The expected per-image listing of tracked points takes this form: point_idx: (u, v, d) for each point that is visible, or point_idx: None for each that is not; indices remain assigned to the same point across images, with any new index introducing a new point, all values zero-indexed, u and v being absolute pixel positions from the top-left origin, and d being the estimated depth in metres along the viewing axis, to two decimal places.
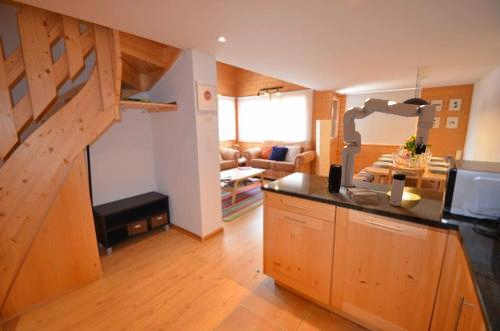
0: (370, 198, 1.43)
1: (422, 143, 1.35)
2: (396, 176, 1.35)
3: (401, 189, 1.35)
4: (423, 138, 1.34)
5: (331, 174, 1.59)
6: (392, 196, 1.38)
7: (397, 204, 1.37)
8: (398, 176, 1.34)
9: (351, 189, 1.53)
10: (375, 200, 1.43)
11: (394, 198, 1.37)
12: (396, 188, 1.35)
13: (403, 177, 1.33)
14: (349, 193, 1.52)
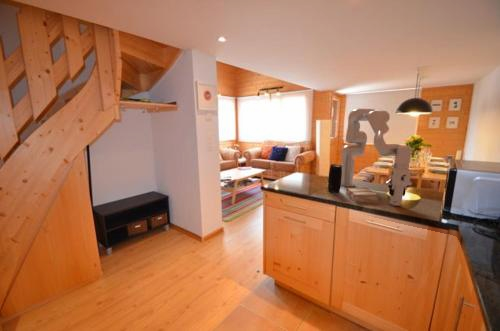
0: (370, 198, 1.43)
1: None
2: None
3: (401, 189, 1.35)
4: None
5: (331, 174, 1.59)
6: (392, 196, 1.38)
7: (397, 204, 1.37)
8: None
9: (351, 189, 1.53)
10: (375, 200, 1.43)
11: (394, 198, 1.37)
12: (396, 188, 1.35)
13: (403, 177, 1.33)
14: (349, 193, 1.52)
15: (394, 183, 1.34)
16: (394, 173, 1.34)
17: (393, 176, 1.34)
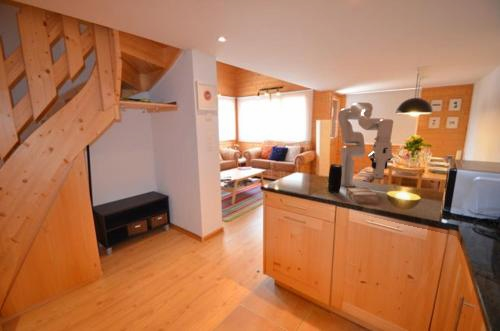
0: (370, 198, 1.43)
1: None
2: None
3: (383, 162, 1.38)
4: None
5: (331, 174, 1.59)
6: (374, 169, 1.41)
7: (379, 177, 1.40)
8: None
9: (351, 189, 1.53)
10: (375, 200, 1.43)
11: (376, 171, 1.40)
12: (378, 161, 1.38)
13: (385, 150, 1.36)
14: (349, 193, 1.52)
15: (376, 156, 1.37)
16: (376, 146, 1.36)
17: (375, 149, 1.37)
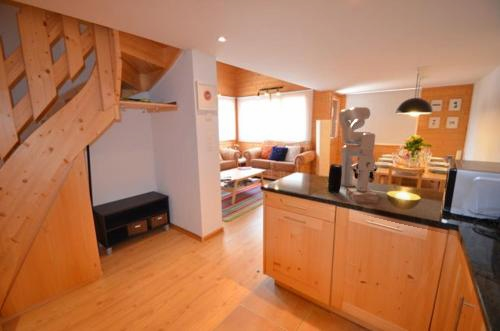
0: (370, 198, 1.43)
1: None
2: None
3: (366, 176, 1.44)
4: None
5: (331, 174, 1.59)
6: (358, 183, 1.48)
7: (363, 190, 1.46)
8: None
9: (351, 189, 1.53)
10: (375, 200, 1.43)
11: (360, 184, 1.46)
12: (362, 175, 1.45)
13: None
14: (349, 193, 1.52)
15: (360, 168, 1.43)
16: (359, 159, 1.43)
17: (359, 161, 1.43)
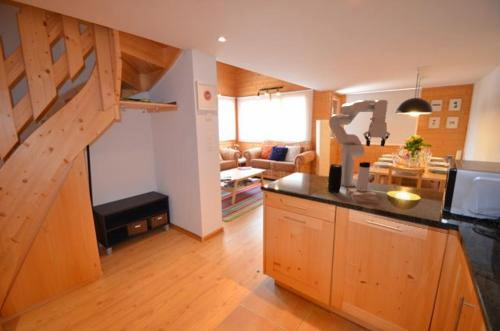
0: (370, 198, 1.43)
1: None
2: (361, 164, 1.44)
3: (366, 176, 1.44)
4: None
5: (331, 174, 1.59)
6: (358, 183, 1.48)
7: (363, 190, 1.46)
8: (363, 164, 1.44)
9: (351, 189, 1.53)
10: (375, 200, 1.43)
11: (360, 184, 1.46)
12: (362, 175, 1.45)
13: (367, 164, 1.43)
14: (349, 193, 1.52)
15: (372, 135, 1.46)
16: (372, 125, 1.45)
17: (371, 128, 1.46)
